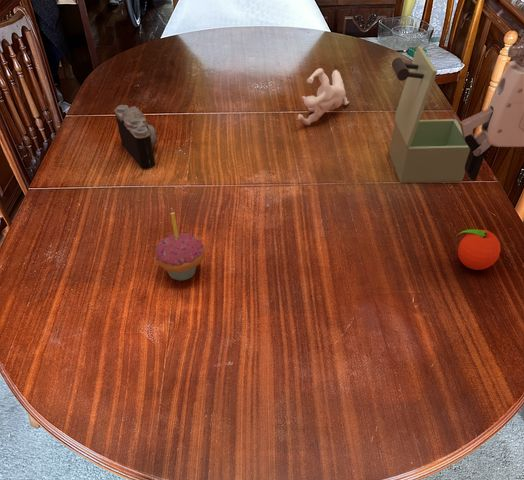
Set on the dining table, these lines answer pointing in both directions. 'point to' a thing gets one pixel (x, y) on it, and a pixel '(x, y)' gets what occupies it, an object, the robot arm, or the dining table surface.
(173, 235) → the cupcake
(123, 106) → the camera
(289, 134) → the dining table surface
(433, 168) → the green hollow rectangular box
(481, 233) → the clementine
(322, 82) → the pale pink plastic figure
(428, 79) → the lid
